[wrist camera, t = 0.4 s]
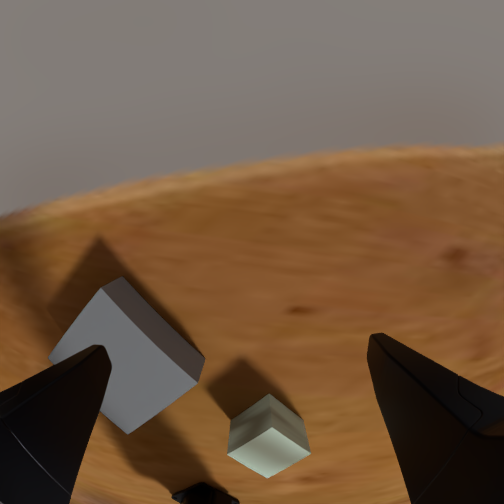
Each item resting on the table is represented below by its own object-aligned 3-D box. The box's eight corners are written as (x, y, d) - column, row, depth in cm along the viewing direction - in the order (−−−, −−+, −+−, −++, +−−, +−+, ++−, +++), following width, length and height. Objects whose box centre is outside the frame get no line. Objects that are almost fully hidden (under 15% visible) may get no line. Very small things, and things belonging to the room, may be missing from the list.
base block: (140, 410, 25) (128, 434, 21) (69, 341, 24) (47, 357, 20) (205, 358, 24) (197, 383, 20) (122, 276, 23) (100, 287, 19)
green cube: (265, 444, 26) (267, 478, 21) (230, 419, 25) (227, 454, 20) (303, 419, 25) (310, 453, 20) (269, 392, 25) (272, 427, 20)
